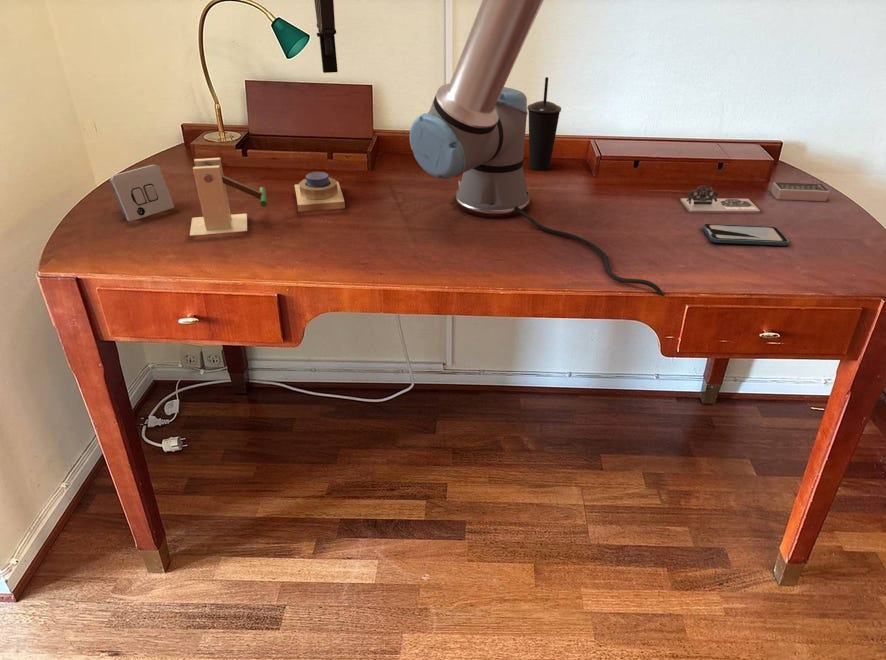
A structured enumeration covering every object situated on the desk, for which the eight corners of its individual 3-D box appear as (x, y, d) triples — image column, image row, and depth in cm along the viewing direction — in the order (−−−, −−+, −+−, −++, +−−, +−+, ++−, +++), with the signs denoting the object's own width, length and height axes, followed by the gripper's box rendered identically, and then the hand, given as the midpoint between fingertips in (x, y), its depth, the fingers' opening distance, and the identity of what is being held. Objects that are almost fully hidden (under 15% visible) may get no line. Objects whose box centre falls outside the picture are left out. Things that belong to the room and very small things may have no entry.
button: (328, 180, 139) (327, 171, 138) (330, 188, 136) (329, 178, 135) (306, 181, 138) (305, 172, 137) (307, 189, 135) (306, 180, 134)
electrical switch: (131, 227, 128) (115, 178, 123) (118, 222, 131) (101, 173, 126) (177, 212, 134) (163, 165, 129) (163, 208, 137) (149, 161, 132)
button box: (339, 192, 145) (337, 172, 142) (345, 213, 136) (343, 191, 134) (296, 195, 143) (293, 175, 140) (299, 216, 134) (296, 195, 132)
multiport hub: (770, 191, 153) (773, 181, 152) (819, 193, 153) (822, 183, 152) (776, 199, 149) (779, 189, 148) (826, 201, 149) (830, 191, 148)
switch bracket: (248, 219, 133) (236, 153, 125) (248, 236, 126) (236, 168, 119) (193, 223, 130) (178, 157, 123) (190, 241, 124) (174, 172, 116)
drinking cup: (539, 159, 166) (547, 72, 155) (562, 168, 161) (571, 79, 150) (516, 165, 162) (522, 76, 151) (538, 174, 157) (546, 83, 146)
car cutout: (689, 212, 142) (694, 191, 140) (680, 200, 148) (684, 180, 145) (759, 212, 143) (765, 192, 141) (747, 200, 149) (753, 180, 146)
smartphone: (790, 242, 129) (712, 239, 129) (789, 247, 130) (711, 244, 129) (776, 226, 135) (701, 223, 135) (774, 230, 136) (700, 227, 135)
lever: (263, 196, 130) (268, 185, 129) (264, 210, 125) (269, 199, 124) (199, 168, 124) (204, 156, 123) (197, 182, 119) (202, 170, 118)
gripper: (291, -73, 125) (307, 65, 138) (298, -68, 115) (314, 80, 128) (333, -73, 127) (344, 63, 140) (343, -68, 116) (354, 78, 130)
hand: (330, 71), depth 134 cm, fingers closed
